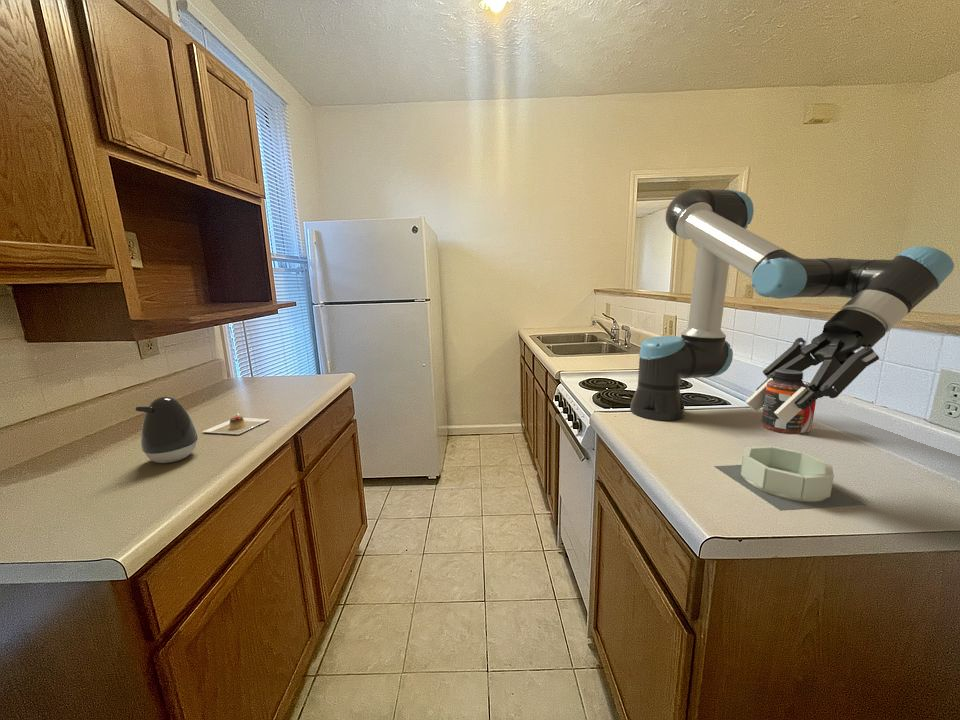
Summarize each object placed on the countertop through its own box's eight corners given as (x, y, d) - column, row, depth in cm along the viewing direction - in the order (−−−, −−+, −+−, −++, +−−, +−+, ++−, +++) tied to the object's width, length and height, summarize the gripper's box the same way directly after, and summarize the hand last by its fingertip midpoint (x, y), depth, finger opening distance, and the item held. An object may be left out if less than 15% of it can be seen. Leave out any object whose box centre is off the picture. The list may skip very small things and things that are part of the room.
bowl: (725, 469, 77) (728, 447, 76) (783, 465, 78) (786, 444, 77) (780, 504, 64) (784, 479, 63) (849, 500, 65) (854, 475, 64)
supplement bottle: (789, 437, 65) (797, 375, 63) (753, 426, 71) (760, 369, 69) (809, 432, 67) (817, 372, 65) (773, 422, 73) (780, 366, 71)
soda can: (817, 435, 94) (825, 390, 92) (786, 434, 96) (792, 389, 93) (800, 426, 101) (806, 383, 99) (770, 424, 102) (776, 383, 100)
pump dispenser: (133, 464, 84) (120, 401, 82) (182, 447, 94) (172, 389, 91) (162, 471, 81) (149, 405, 78) (210, 452, 90) (200, 393, 88)
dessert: (239, 437, 101) (236, 421, 100) (202, 435, 103) (199, 419, 102) (270, 422, 113) (268, 407, 112) (236, 420, 115) (234, 406, 114)
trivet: (713, 468, 78) (713, 466, 78) (783, 464, 79) (784, 462, 79) (779, 513, 62) (780, 510, 62) (865, 507, 64) (866, 504, 63)
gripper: (940, 343, 57) (826, 445, 59) (822, 330, 76) (738, 409, 78) (915, 309, 56) (799, 415, 58) (801, 305, 75) (716, 386, 77)
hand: (764, 412), depth 68 cm, fingers closed on supplement bottle, 6 cm apart
